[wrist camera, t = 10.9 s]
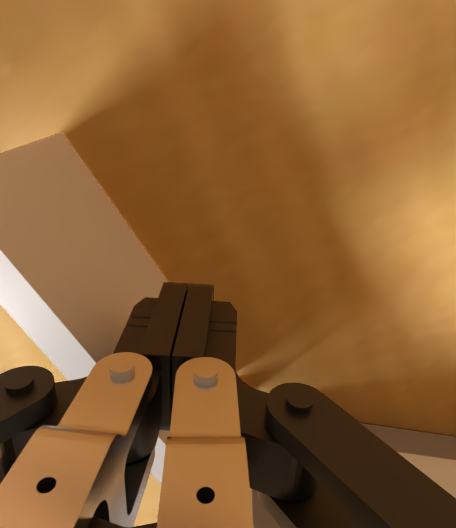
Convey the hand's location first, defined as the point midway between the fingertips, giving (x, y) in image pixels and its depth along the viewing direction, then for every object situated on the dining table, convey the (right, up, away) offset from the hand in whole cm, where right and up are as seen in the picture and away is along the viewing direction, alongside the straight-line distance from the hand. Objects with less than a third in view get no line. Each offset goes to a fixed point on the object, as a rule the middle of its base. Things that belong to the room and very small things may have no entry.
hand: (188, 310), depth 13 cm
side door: (-2, 0, +6) cm, 6 cm away
